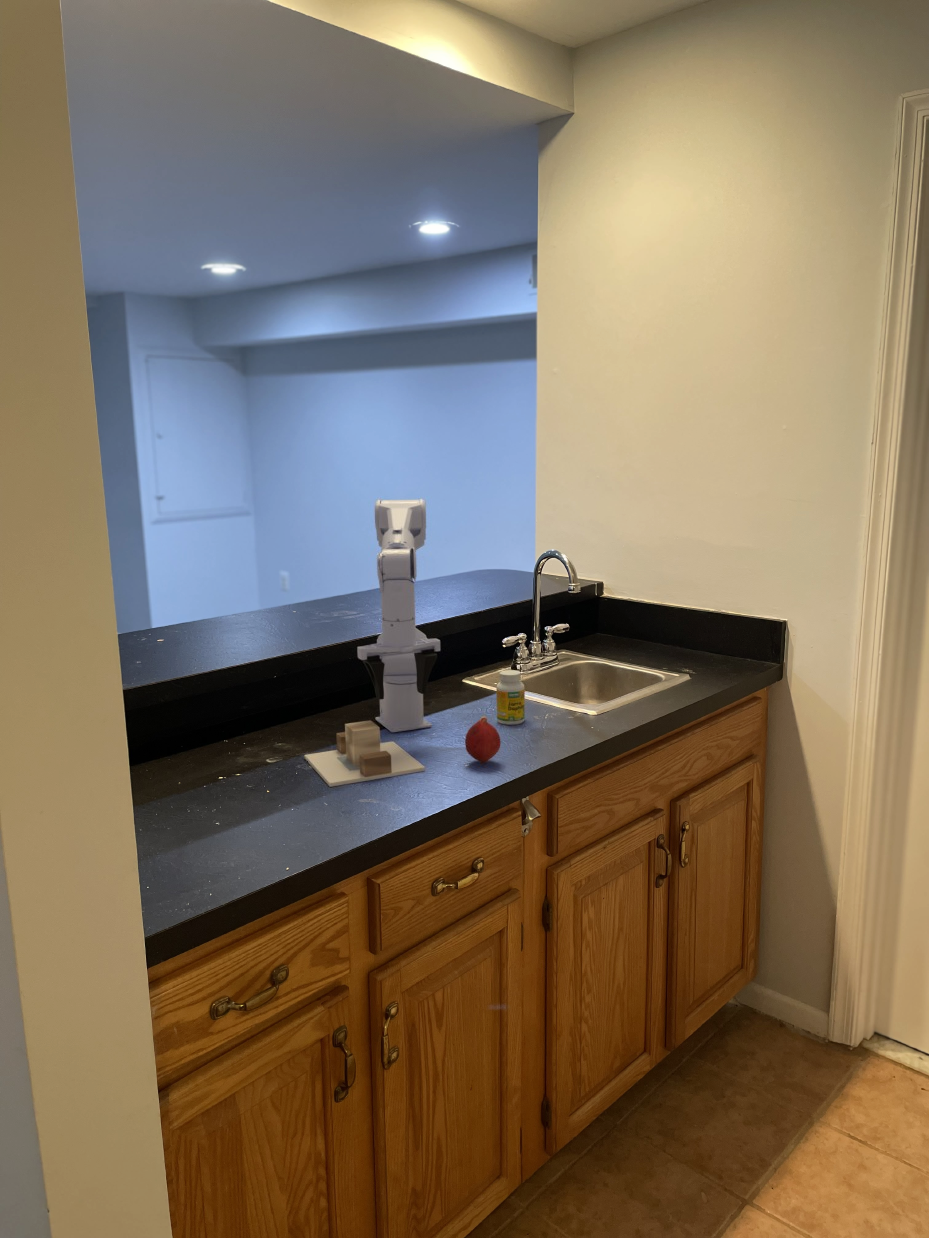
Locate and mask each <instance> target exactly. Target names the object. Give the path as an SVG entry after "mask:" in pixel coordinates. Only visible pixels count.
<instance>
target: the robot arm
mask: <svg viewBox="0 0 929 1238" xmlns="http://www.w3.org/2000/svg"><path fill="white" fill-rule="evenodd" d="M426 507H427V503H426V501H425V500H424V498H420V499H385V500H383V499H382V500H381V499H377V500H376V501H375V503H374V527H375V531H376V540H377V542H378V546H379V547H380V548H381V552H379V551H378V552H377V556H376V557H377V558H376V570H377V571H376V573H377V578H378V584H379V593H380V594H381V596H380V599H381V600H380V601H381V602H380V603H381V633H380V634H379V635H378V636H377V639H376V643H371V644H367V645H362V646H357V651H356V652H357V659H358V660H361V661H362V663H363V665H364V666H365V669H366V670H367V672H368V674H369V676H370V679H371V682H372V685H373V689H374V692H375V697H376V698H377V699H378V700H379V713H380V714H379V716H376V717H375V720H376V721H377V722H378V723H379V724H380V725H382V726H383V727H385V728H386V729H387V730H388V731H389V732H391V733H397V732H398V733H399V732H404V731H413V730H418V729H424V728H426V729H427V728H431V727H432V723H430V722H429V721H427V720H426V719H425V718H424V694H426V689H427V685H428V681H429V677H430V675H431V672H432V669H433V667H434V665H435V663H436V662H437V661H438V660H437V659H438V654H437V653H436V652H441V640H440V639H438V638H427V635H426V634H425V633H424V632H422V631H421V630H419V629H418V628H416V599H415V598H416V597H415V596H416V593H415V591H416V590H415V582H416V580H417V572H418V571H417V554H416V552H417V550H419V549H420V548H422V547H424V546H425V541H426V539H427V537H426V535H427V534H426V531H427V530H426V529H427V509H426Z"/></svg>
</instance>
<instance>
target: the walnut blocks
mask: <svg viewBox="0 0 929 1238" xmlns="http://www.w3.org/2000/svg"><path fill="white" fill-rule="evenodd" d="M335 735H336V750H338V751H339V752H340V753H341V754H345V753H346V737H345V731H343V732H336V734H335ZM359 757H360V773H361V774H362V775H363V776H364V777H370V776H376V775H382V774H388V773H392V769H391V754H389V753H388V752H387V751H380V752H374V753H367V754H361V755H359Z"/></svg>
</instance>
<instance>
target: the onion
mask: <svg viewBox="0 0 929 1238" xmlns="http://www.w3.org/2000/svg"><path fill="white" fill-rule="evenodd" d="M499 734H500V733H499V732H498V731H497V729H496V727H494V726H493V725H492V724H491V723H489V722H488V718H487V716H482V717H480V719H479V720H478V721H477V722H476V723H474V724H473V725H472V726H471V727H470V728H468V730H467V732H466V734H465V735H466V736H465V740H464V741H465V742H464V745H465V750H466V752H467V754H468V755H469V756H470V757H472V759H474V760H476V761H477V762H478V763H481V764H487V763H488V762H489V760H491V759H492V758H493V757H495V755H496V754H498V752H499V750H500V749H501V742H502V741H501V737H500V735H499Z"/></svg>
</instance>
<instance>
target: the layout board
mask: <svg viewBox="0 0 929 1238" xmlns="http://www.w3.org/2000/svg"><path fill="white" fill-rule="evenodd" d="M380 751H387V752H388V753H389V754H391V769H392V773H388V774H382V775H376V776H370V777H364V776H363V775H362V774H361V773H360V766H356V767H355V766H354V765H353V764H352V763H351V762H349V761H348V760H347V759H346V753H345V754H341V753H340V752H339V751H338V750H337V749H334V750H329V751H328V750H327V751H321V752H315V753H308V754H304V759H305V761H306V762H307V761H308V762H307V763H308V764H309V765H310V767H312V768H313V770H314V771H315V772H316V773H317V774H318V775H319V777H321V779H322V780H323V781H324V782H325V783H326V784H327V786H329V787H330V788H331V787H336V786H344V785H349V784H355V783H360V782H365V781H366V782H367V781H372V780H378V779H383V778H389V777H396V776H402V775H407V774H413V773H418V772H419V773H420V772H425V771H426V767H425V766H424V765H423V764H422V763H420V762H419V761H418V760H417V759H416V758H414V756H411V754H409V753H408V752H407V751H406V750H404V749H403V748H402V747H400V746H399V745H398V744H397V743H396V742H394V740H393V741H388V742H387V741H386V742H380Z"/></svg>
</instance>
